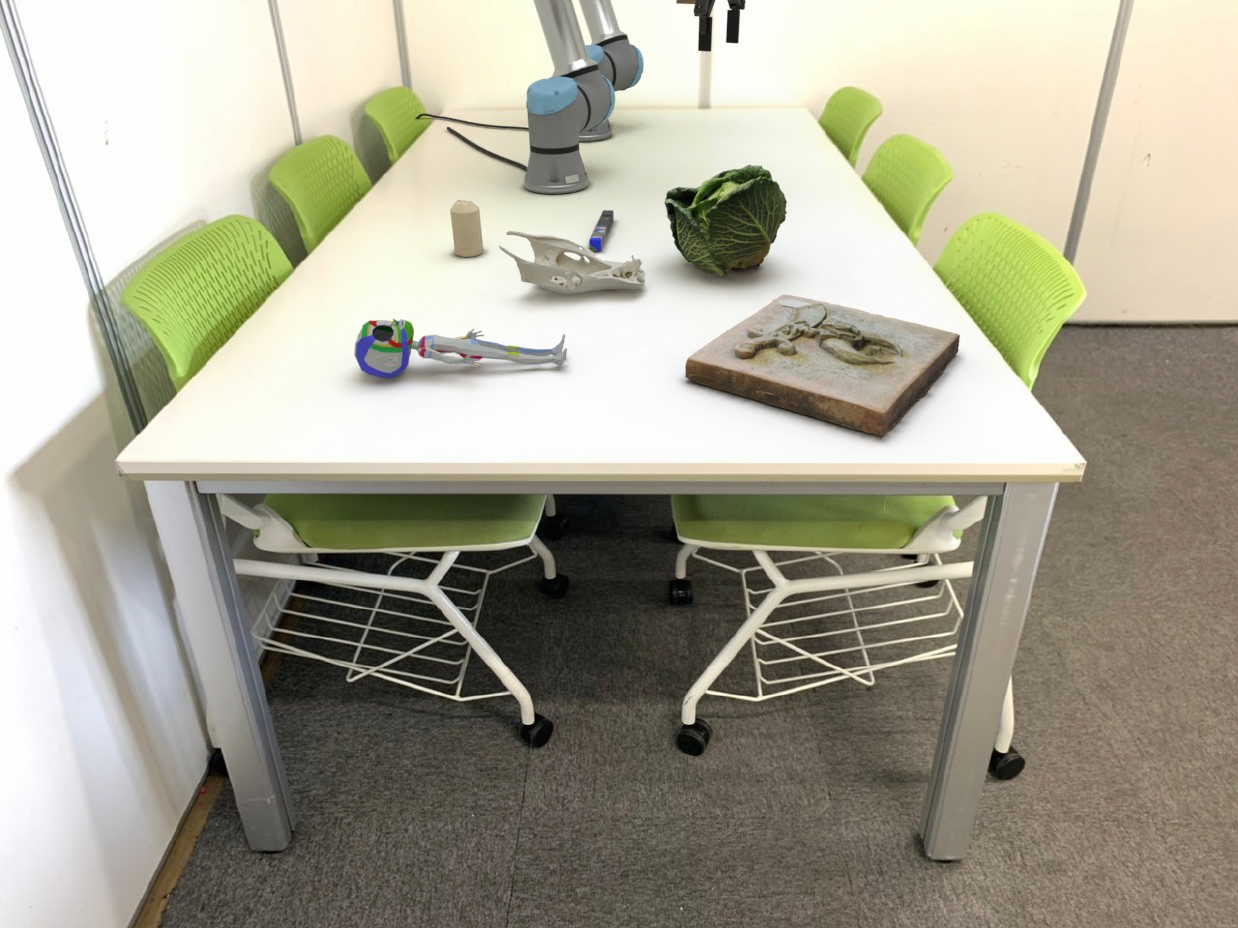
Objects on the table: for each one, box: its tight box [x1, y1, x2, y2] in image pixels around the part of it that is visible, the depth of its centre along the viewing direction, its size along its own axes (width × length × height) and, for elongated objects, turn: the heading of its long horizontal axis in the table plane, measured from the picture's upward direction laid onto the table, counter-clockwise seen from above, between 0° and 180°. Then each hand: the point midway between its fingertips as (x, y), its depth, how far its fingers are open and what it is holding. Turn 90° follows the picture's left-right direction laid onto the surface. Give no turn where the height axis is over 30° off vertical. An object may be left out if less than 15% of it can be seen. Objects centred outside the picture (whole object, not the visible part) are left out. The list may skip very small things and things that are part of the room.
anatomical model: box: [498, 230, 646, 295], centre depth 156 cm, size 15×9×25 cm
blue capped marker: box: [588, 209, 615, 252], centre depth 182 cm, size 2×2×20 cm
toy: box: [353, 318, 568, 379], centre depth 130 cm, size 10×8×30 cm
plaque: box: [684, 294, 961, 438], centre depth 129 cm, size 30×7×30 cm
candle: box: [449, 199, 484, 258], centre depth 172 cm, size 6×6×10 cm
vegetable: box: [664, 164, 788, 278], centre depth 161 cm, size 20×19×20 cm
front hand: (718, 47), depth 194 cm, fingers open, 13 cm apart
